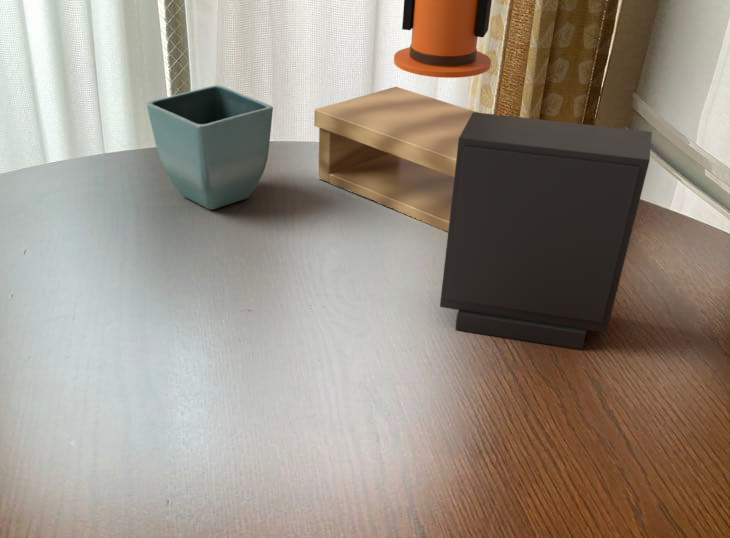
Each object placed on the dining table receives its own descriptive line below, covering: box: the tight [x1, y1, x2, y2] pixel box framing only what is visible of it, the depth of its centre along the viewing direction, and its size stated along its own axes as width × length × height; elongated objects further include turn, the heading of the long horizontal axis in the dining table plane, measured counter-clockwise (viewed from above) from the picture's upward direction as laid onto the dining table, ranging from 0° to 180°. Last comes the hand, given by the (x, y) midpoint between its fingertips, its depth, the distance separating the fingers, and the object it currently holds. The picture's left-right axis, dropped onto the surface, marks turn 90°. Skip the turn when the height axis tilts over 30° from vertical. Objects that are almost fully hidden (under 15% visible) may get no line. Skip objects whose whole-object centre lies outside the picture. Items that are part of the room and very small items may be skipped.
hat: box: [393, 0, 492, 79], centre depth 83 cm, size 9×9×8 cm
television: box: [439, 111, 653, 351], centre depth 70 cm, size 7×13×14 cm, turn 74°
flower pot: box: [146, 84, 274, 211], centre depth 89 cm, size 9×9×9 cm
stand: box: [313, 86, 479, 233], centre depth 92 cm, size 22×12×7 cm, turn 44°
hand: (445, 29), depth 84 cm, fingers closed on hat, 6 cm apart
